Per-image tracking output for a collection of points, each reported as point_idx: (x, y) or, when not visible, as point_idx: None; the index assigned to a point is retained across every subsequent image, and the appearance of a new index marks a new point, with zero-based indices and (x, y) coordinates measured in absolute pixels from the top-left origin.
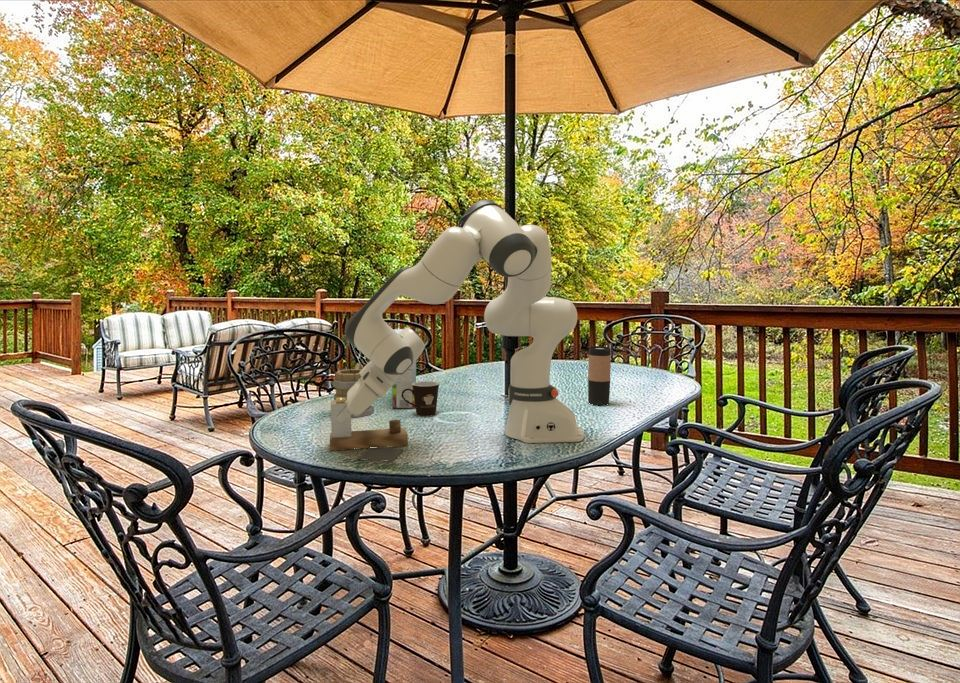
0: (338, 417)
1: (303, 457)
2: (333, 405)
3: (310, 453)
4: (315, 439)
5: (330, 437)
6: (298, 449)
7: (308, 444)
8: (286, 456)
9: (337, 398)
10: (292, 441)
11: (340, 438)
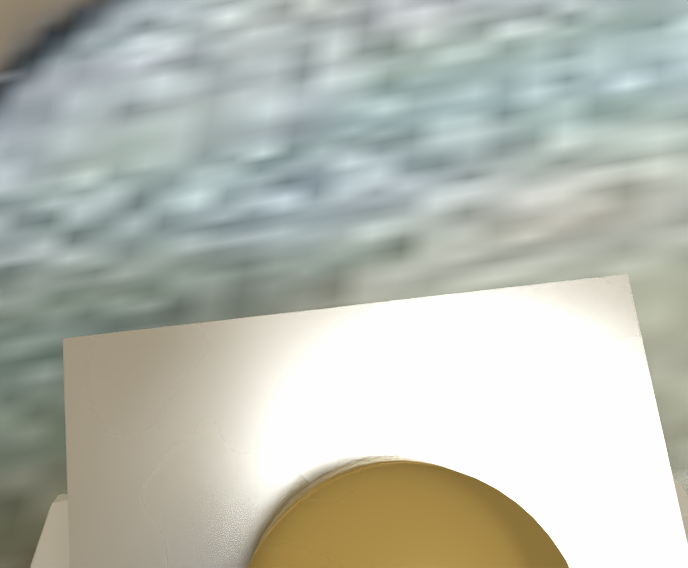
0: (46, 534)
1: (54, 179)
2: (75, 424)
3: (159, 217)
4: (589, 190)
5: None
6: (294, 99)
7: (435, 155)
8: (111, 42)
9: (376, 530)
10: (535, 12)
11: None
